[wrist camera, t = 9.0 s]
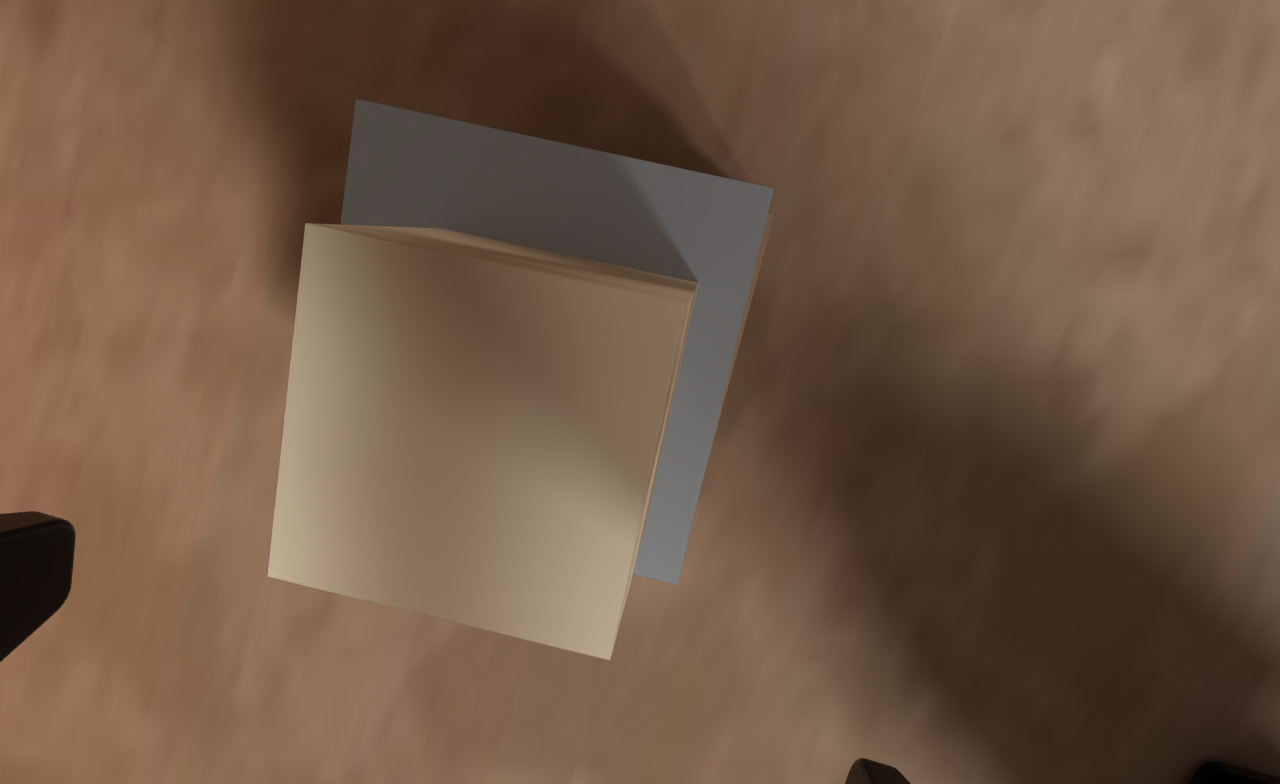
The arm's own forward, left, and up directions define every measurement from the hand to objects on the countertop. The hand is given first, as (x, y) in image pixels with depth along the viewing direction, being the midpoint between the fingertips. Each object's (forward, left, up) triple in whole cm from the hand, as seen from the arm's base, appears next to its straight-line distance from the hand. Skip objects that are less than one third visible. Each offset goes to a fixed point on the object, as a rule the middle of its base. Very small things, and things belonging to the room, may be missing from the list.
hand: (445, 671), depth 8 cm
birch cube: (+1, -2, -7) cm, 7 cm away
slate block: (+2, -2, -10) cm, 11 cm away
